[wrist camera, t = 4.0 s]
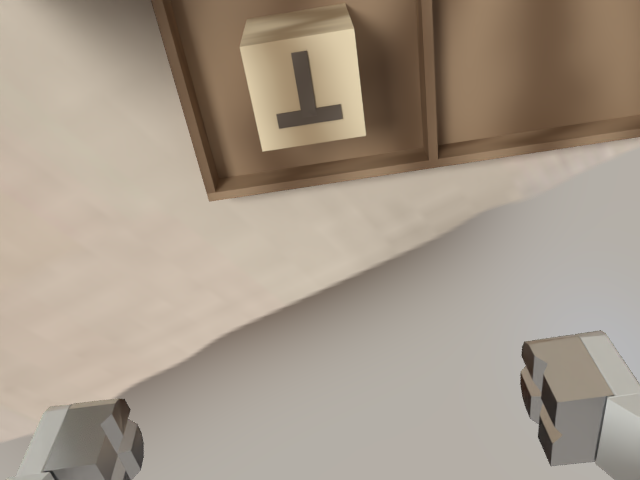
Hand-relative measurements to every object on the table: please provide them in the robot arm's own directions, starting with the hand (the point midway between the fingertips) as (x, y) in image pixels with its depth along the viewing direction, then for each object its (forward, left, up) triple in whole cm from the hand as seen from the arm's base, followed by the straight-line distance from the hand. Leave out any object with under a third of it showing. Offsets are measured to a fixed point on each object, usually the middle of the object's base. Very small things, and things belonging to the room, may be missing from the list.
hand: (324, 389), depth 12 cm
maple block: (0, 0, -23) cm, 23 cm away
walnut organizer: (-6, 0, -23) cm, 24 cm away
